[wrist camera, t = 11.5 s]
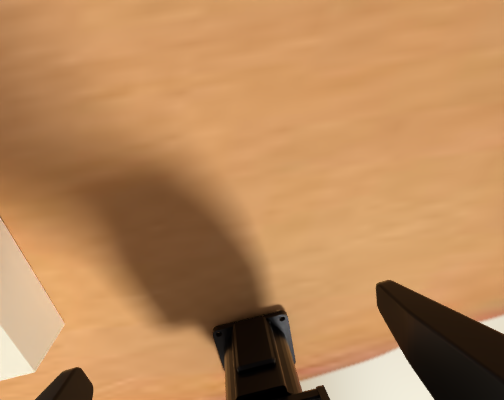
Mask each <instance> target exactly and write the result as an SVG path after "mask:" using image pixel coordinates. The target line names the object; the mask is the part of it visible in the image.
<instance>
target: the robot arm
mask: <svg viewBox="0 0 504 400" xmlns="http://www.w3.org/2000/svg"><path fill="white" fill-rule="evenodd" d="M376 297H377V306H378V309H379V311H380V313H381V315H382V317H383V318H384V320H385V322H386V324H387V325H388V327H389V329H390V331H391V333H392V334H393V336H394V338H395V340H396V341H397V343H398V345H399V347H400V348H401V350H402V352H403V354H404V355H405V357H406V359H407V360H408V362H409V364H410V365H411V366H412V368H413V369H414V371H415V372H416V374H417V375H418V377H419V378H420V380H421V381H422V382H423V384H424V385H425V387H426V388H427V390H428V391H429V392H430V394H431V395H432V397H433V398H434V400H504V334H502V333H500V332H498V331H496V330H494V329H492V328H490V327H488V326H486V325H484V324H481V323H479V322H477V321H475V320H473V319H471V318H469V317H467V316H465V315H463V314H461V313H459V312H456V311H454V310H452V309H450V308H448V307H446V306H444V305H442V304H440V303H438V302H436V301H433V300H431V299H429V298H427V297H425V296H423V295H421V294H419V293H417V292H415V291H413V290H410V289H408V288H406V287H404V286H402V285H400V284H398V283H396V282H394V281H391V280H386V281H383V282H379V283H377V284H376ZM280 317H282V318H280ZM218 332H220V333H218ZM213 337H214V340H215V343H216V346H217V349H218V352H219V355H220V358H221V361H222V365H223V368H224V371H225V387H226V400H330V398H329V397H328V394H327V392H326V390H325V387H324V386H323V385H322V386H318V387H316V389H312V390H308V391H304V392H302V389H301V385H300V382H299V379H298V375H297V372H296V368H295V365H294V364H295V362H296V361H295V355H294V349H293V344H292V338H291V332H290V326H289V321H288V316H287V313H286V312H285V311H279V312H275V313H271V314H267V315H263V316H258V317H254V318H250V319H246V320H242V321H238V322H234V323H230V324H225V325H221V326H217V327H215V328H214V329H213ZM92 397H93V385H92V383H91V381H90V380H89V379H88V377H87V376H86V374H85V373H84V372H83V370H82V369H81V368H79V367H76V368H72V369H68V370H65V371H63V372H62V373H61V374H60V375H59V376H58V377H57V378H56V379H55V380H54V381H53V382H52V383H51V384H50V385H49V386H48V387H47V388H46V389H45V390H44V391H43V392H42V393H41V394H40V395H39V396H38V397H37V398H36V399H35V400H92Z"/></svg>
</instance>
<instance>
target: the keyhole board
mask: <svg viewBox="0 0 504 400" xmlns="http://www.w3.org/2000/svg"><path fill="white" fill-rule="evenodd" d="M64 325H65V323H64V321H63V319H62V318H61V316H60V315H59V313H58V311H57V310H56V308H55V306H54V305H53V303H52V301H51V300H50V298H49V296H48V295H47V293H46V292H45V290H44V288H43V287H42V285H41V283H40V282H39V280H38V278H37V277H36V275H35V273H34V272H33V270H32V269H31V267H30V265H29V264H28V262H27V260H26V259H25V257H24V255H23V254H22V252H21V250H20V249H19V247H18V246H17V244H16V242H15V241H14V239H13V237H12V236H11V234H10V232H9V231H8V229H7V227H6V226H5V224H4V223H3V221H2V219H1V218H0V381H1V380H5V379H9V378H13V377H17V376H21V375H26V374H30V373H34V372H35V371H36V370H37V368H38V367H39V365H40V363H41V362H42V360H43V359H44V357H45V355H46V354H47V352H48V351H49V349H50V347H51V346H52V344H53V343H54V341H55V339H56V338H57V336H58V335H59V333H60V331H61V330H62V328H63V327H64Z"/></svg>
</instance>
